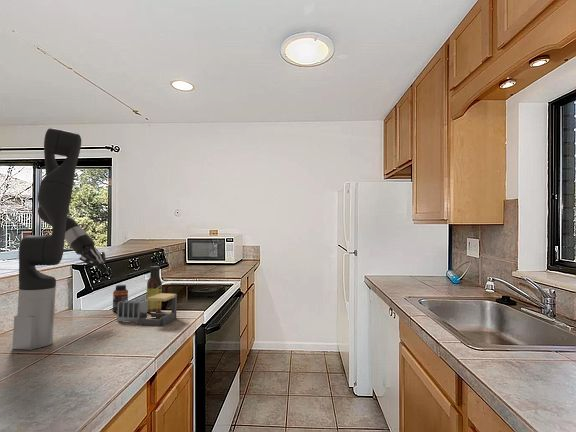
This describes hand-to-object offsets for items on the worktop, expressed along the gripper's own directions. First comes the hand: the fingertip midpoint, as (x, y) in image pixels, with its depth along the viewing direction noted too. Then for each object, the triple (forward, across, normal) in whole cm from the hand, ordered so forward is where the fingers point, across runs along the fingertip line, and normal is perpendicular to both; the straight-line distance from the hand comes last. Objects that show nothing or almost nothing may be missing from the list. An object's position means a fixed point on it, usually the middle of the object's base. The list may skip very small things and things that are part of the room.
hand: (106, 272), depth 137 cm
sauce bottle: (+22, +16, +5) cm, 28 cm away
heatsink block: (+21, +1, +6) cm, 22 cm away
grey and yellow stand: (+28, +1, -2) cm, 28 cm away
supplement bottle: (+12, +15, +16) cm, 25 cm away
